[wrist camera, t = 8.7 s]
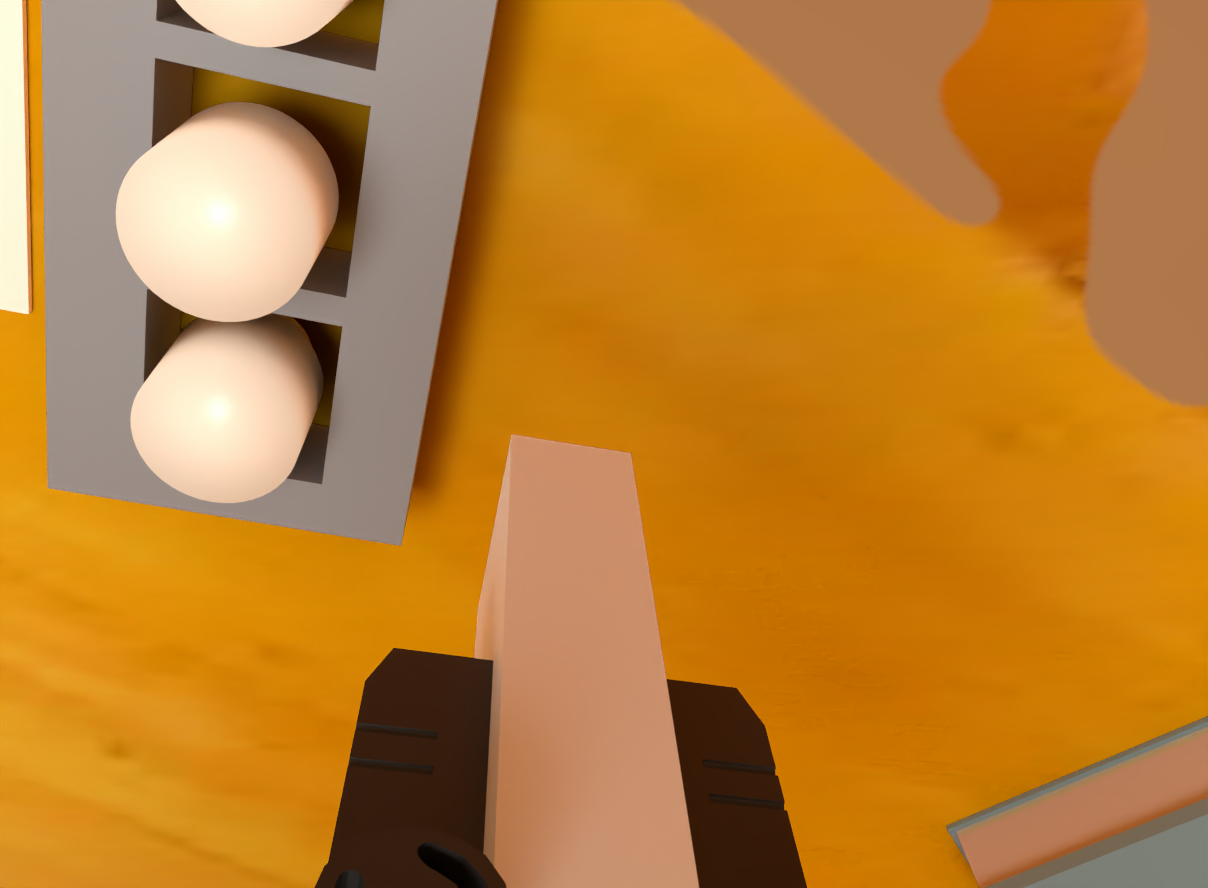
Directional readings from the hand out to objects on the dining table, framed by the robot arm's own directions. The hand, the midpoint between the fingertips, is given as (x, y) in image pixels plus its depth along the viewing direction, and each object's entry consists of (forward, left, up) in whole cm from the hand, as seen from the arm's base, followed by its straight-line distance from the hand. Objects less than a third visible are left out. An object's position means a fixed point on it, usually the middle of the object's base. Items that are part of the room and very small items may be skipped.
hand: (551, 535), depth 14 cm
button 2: (-8, -10, -24) cm, 27 cm away
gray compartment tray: (-8, -3, -25) cm, 26 cm away
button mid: (-8, -3, -22) cm, 24 cm away
